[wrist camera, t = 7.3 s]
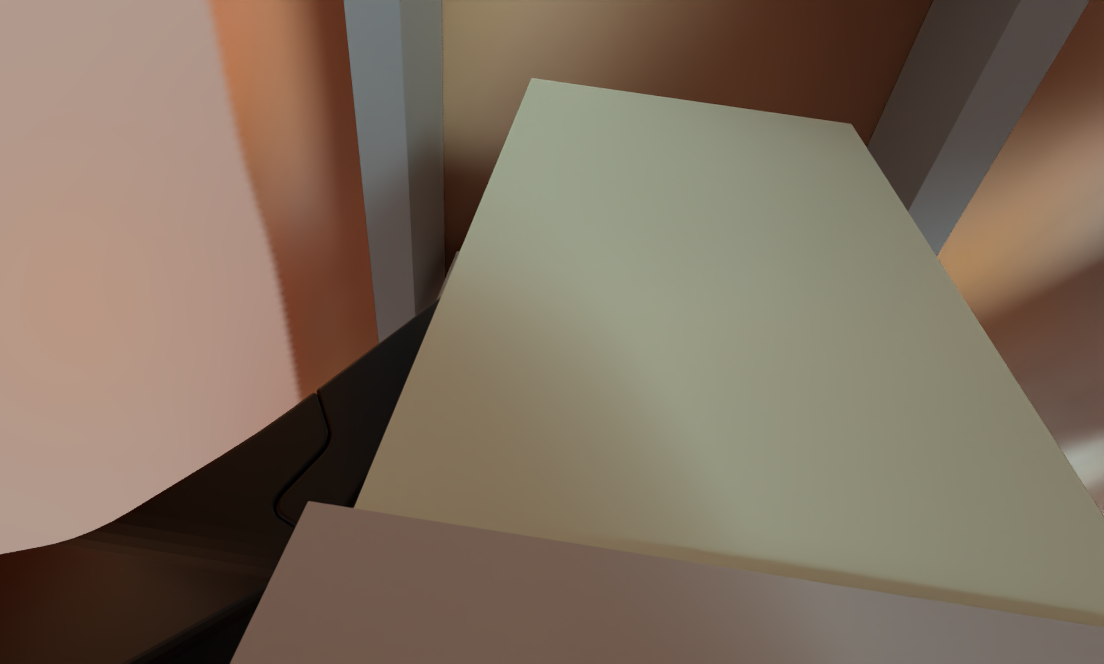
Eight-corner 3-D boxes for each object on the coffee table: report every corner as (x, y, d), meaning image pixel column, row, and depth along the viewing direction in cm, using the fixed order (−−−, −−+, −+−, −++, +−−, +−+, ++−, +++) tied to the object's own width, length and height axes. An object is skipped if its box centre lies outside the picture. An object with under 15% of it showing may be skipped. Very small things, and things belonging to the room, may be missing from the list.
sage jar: (869, 112, 10) (1430, 887, 3) (758, 367, 13) (882, 985, 6) (520, 62, 10) (219, 688, 3) (502, 328, 13) (347, 895, 6)
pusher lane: (378, -361, 10) (265, -432, 7) (1118, -264, 10) (1326, -294, 7) (420, 453, 24) (387, 548, 21) (735, 501, 24) (749, 605, 21)
